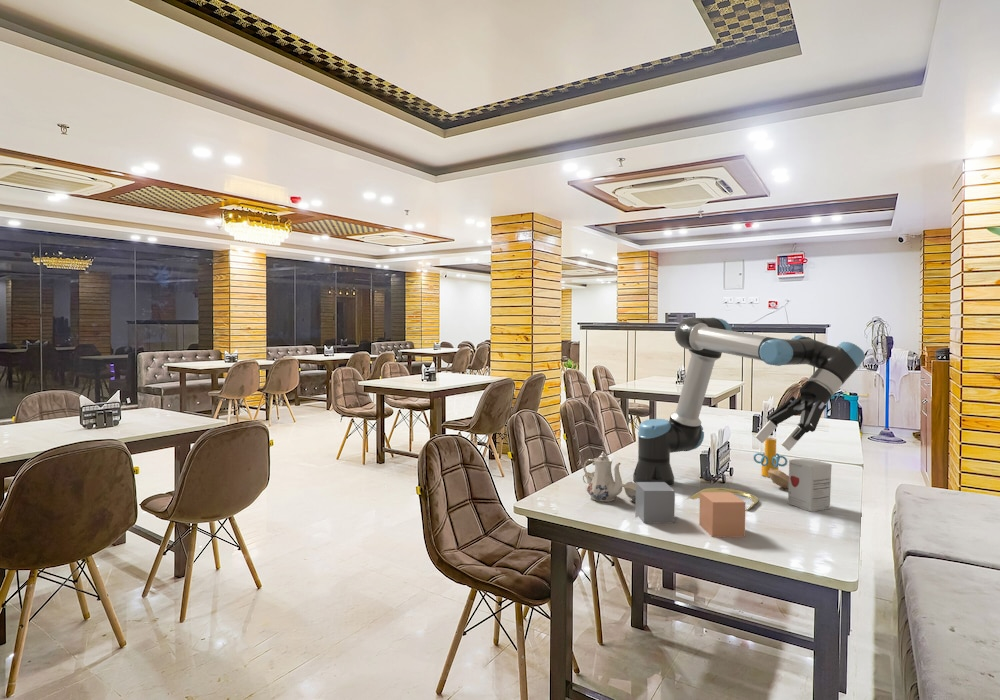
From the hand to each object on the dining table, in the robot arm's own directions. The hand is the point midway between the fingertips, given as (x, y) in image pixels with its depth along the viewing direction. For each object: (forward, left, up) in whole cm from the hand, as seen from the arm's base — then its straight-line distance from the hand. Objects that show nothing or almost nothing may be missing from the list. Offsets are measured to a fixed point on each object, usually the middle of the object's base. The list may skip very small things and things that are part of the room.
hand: (771, 443), depth 152 cm
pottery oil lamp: (-16, +48, -26) cm, 57 cm away
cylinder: (-27, +62, -26) cm, 73 cm away
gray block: (-25, -19, -26) cm, 41 cm away
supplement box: (-2, +34, -26) cm, 43 cm away
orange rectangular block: (-7, -13, -26) cm, 30 cm away
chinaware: (-50, -10, -26) cm, 58 cm away
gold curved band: (-21, +12, -27) cm, 36 cm away
